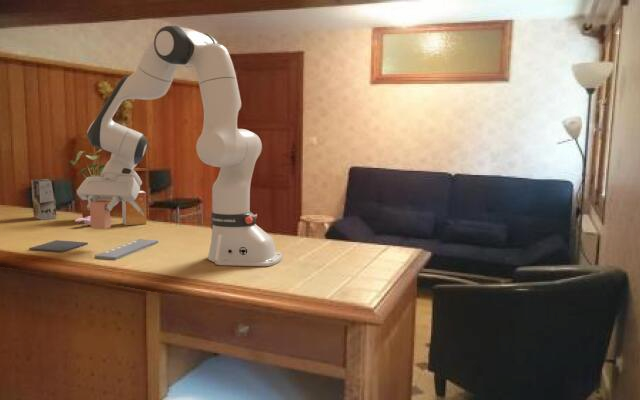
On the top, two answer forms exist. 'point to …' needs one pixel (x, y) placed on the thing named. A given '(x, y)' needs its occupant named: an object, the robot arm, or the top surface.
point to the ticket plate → (126, 249)
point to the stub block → (99, 215)
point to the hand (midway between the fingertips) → (98, 209)
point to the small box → (135, 210)
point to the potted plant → (85, 202)
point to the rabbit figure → (86, 220)
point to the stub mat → (58, 246)
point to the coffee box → (44, 199)
